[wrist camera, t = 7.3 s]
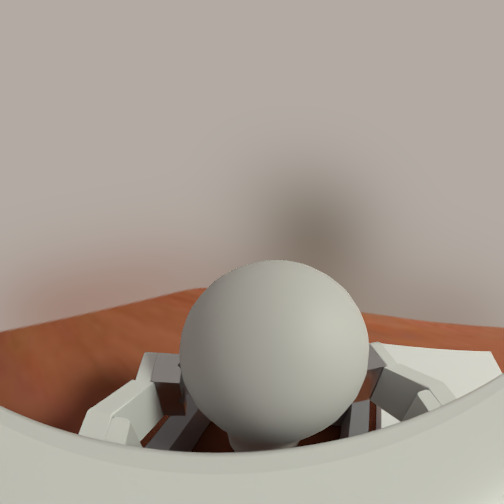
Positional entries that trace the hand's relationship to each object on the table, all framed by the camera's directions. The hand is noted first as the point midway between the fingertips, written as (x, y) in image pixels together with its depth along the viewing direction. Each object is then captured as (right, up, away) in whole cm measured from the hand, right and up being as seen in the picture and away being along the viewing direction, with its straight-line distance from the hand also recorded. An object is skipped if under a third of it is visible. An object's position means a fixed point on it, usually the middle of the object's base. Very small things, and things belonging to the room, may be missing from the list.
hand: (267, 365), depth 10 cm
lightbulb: (0, -7, +1) cm, 7 cm away
